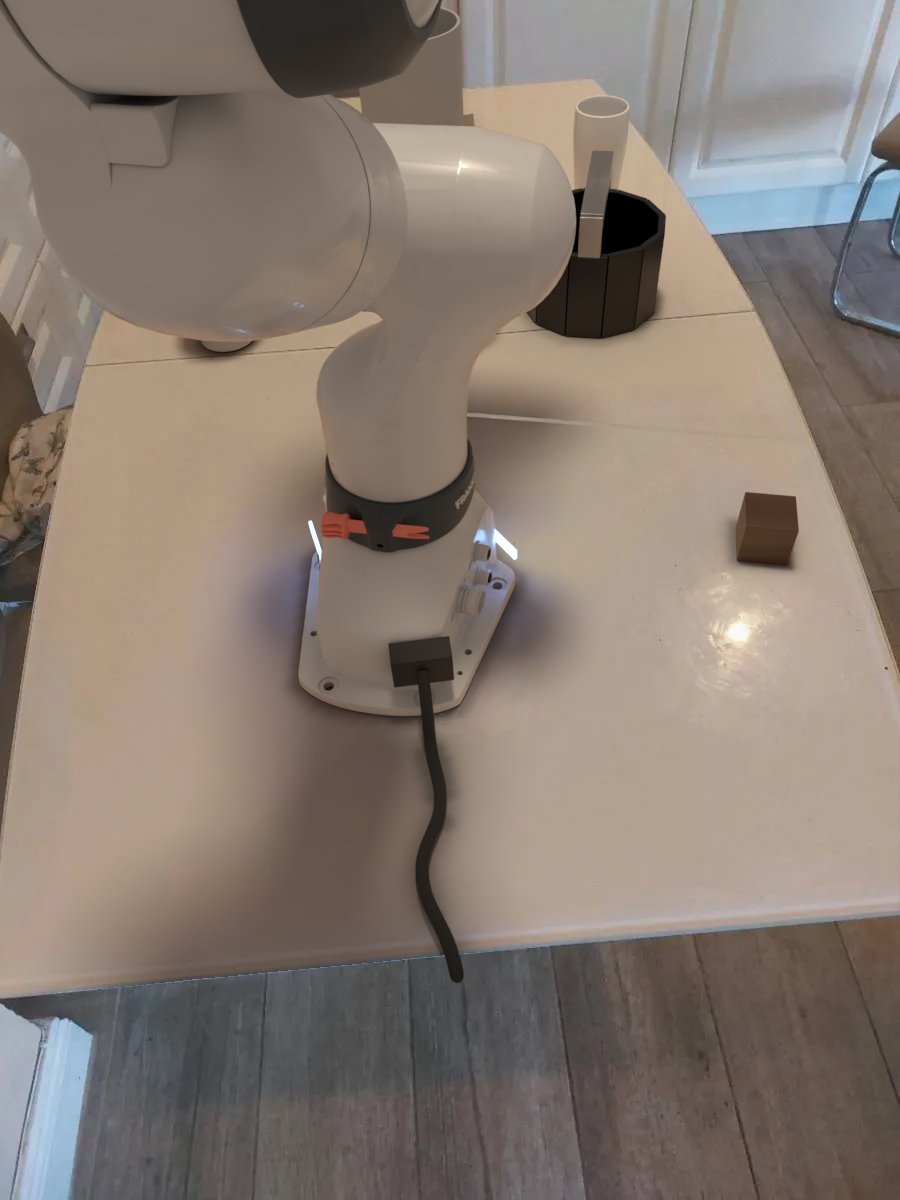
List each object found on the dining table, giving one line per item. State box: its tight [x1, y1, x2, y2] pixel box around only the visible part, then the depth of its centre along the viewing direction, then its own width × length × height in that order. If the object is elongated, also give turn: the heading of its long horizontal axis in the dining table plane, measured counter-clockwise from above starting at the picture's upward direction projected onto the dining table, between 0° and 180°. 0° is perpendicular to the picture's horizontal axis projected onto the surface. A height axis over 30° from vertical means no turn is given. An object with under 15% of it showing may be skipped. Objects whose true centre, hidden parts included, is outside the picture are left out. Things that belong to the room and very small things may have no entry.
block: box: [735, 491, 800, 566], centre depth 82 cm, size 4×4×4 cm
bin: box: [526, 151, 667, 339], centre depth 104 cm, size 16×16×14 cm
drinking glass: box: [572, 94, 631, 191], centre depth 117 cm, size 7×7×15 cm
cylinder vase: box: [358, 6, 465, 126], centre depth 114 cm, size 12×12×25 cm
